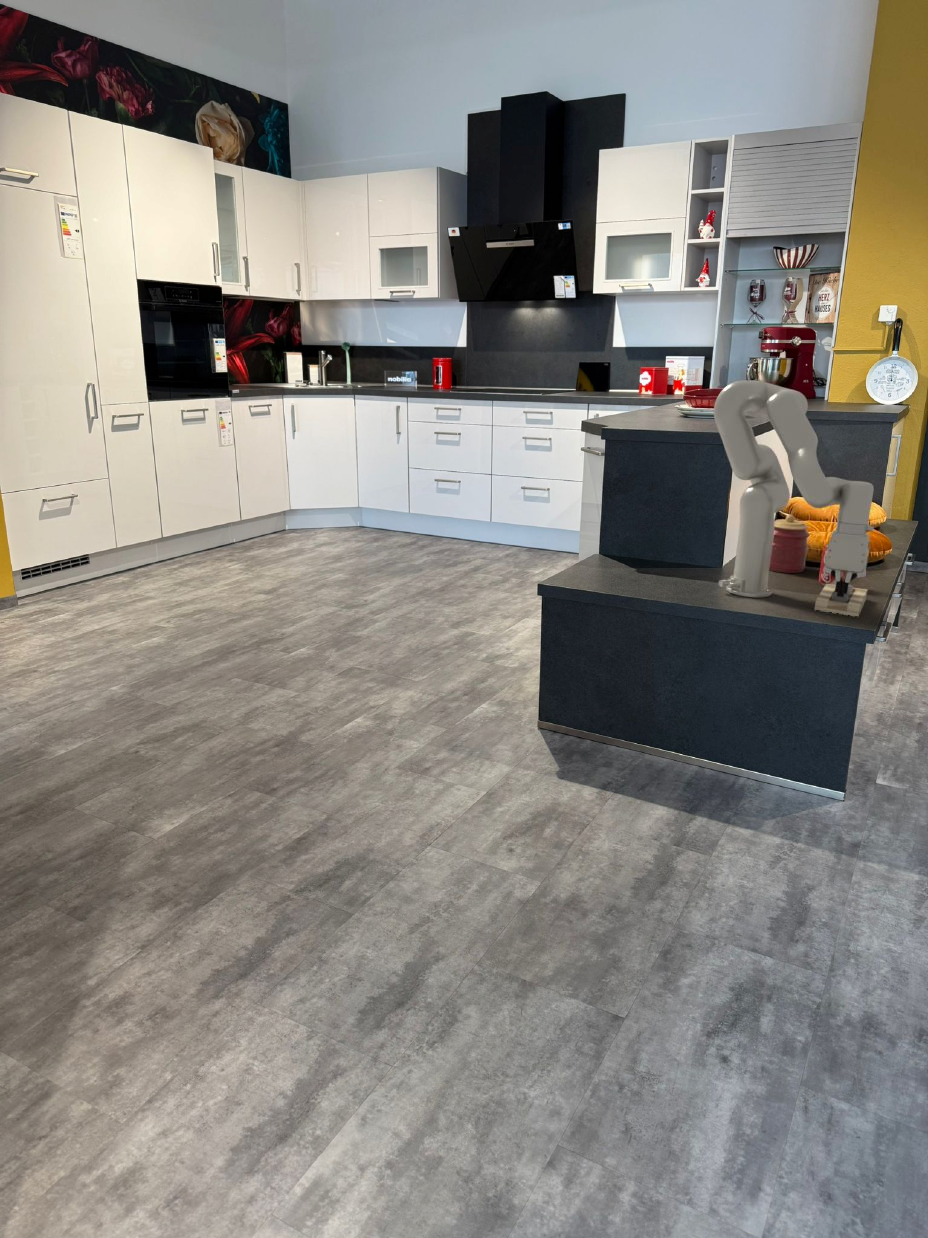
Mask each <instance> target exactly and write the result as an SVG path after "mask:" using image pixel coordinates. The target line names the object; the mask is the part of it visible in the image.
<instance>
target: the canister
mask: <svg viewBox="0 0 928 1238" xmlns="http://www.w3.org/2000/svg"><path fill="white" fill-rule="evenodd" d="M807 529H809V526H808V525H806V524H805V523H804V522H803V521H800V520H796V517H795V516H794V515H793V514H791V513H790V514H787V515H786V517H785V519H783V518H782V519H776V520H774V538H773V546H772V554H771V561H770V568H769V571H772V572H778V573H785V574H795V573H796V574H797V573H802V572H803V571H805V568H806V559H807V551H808V547H809V544H808V538H809V537H810V535H811V534H810V533H809V532H808V531H807Z"/></svg>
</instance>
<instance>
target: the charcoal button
mask: <svg viewBox="0 0 928 1238" xmlns="http://www.w3.org/2000/svg"><path fill="white" fill-rule="evenodd" d="M832 601H838V602H845V603H847V602H848V595H845V594H844V596H843V597H841V596H837V593H835V594H833V595H832Z"/></svg>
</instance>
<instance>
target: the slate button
mask: <svg viewBox="0 0 928 1238" xmlns="http://www.w3.org/2000/svg"><path fill="white" fill-rule="evenodd" d="M850 585H851V584H849V585H848V591H847V594H846V593H845V595H848V597H850V594H851V588H852V586H853V585H852V586H850ZM835 593H837V592H835Z"/></svg>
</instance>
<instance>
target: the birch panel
mask: <svg viewBox="0 0 928 1238" xmlns="http://www.w3.org/2000/svg"><path fill="white" fill-rule="evenodd" d="M835 588H836V585H832V584H826V585H825V586H823V588H822V590H821V591H820V593H819V594H818V596H817V597H816V598H815V603H814V605H815V606H814V611H816V610H820V611H819V612H824V613H829V612H832V613H831V614H836V613H839V614H838V615H842V614H843V616H848V615H850V617H855V616H858V617H859V616H860V614H861V611H862V609H863V607H864V604H865V602H866V601H867V595H868V588H867V589H866V588H859V587H853V591H852V593H851V594H850V597H848V602H847V603H845V602H838V601H832V595H833V594H835Z"/></svg>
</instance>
